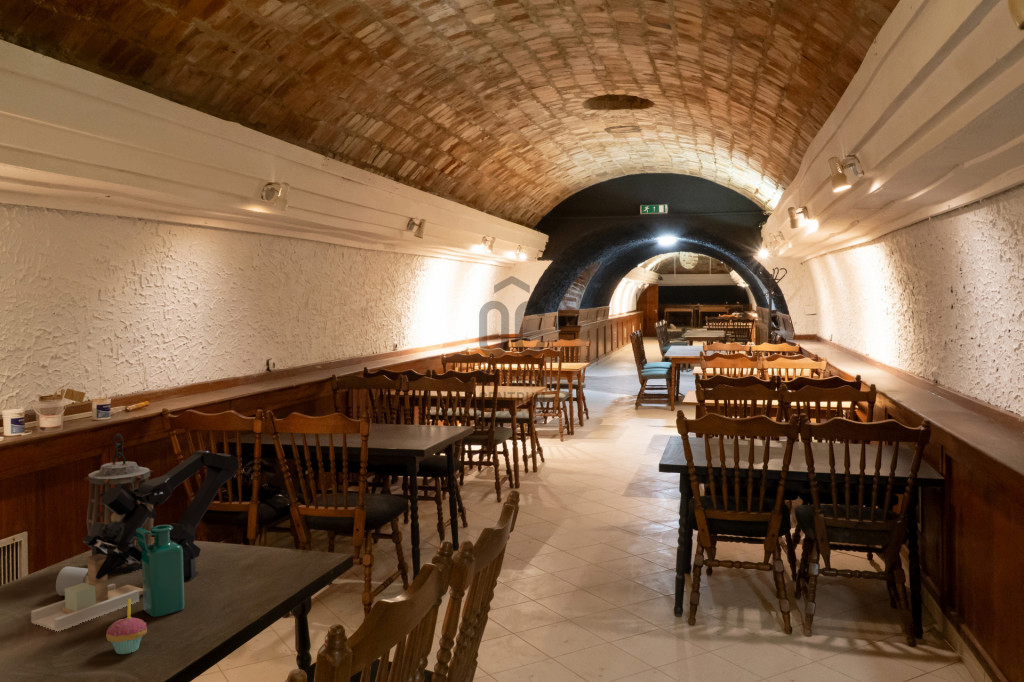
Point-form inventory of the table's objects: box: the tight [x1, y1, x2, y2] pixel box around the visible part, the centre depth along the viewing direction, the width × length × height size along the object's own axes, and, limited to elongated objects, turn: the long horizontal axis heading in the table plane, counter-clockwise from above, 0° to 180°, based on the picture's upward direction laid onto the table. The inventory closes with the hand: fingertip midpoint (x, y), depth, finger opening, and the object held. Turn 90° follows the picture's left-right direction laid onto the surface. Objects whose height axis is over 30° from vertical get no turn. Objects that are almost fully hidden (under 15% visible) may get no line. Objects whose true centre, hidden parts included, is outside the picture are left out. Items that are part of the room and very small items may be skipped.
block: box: [64, 583, 96, 611], centre depth 205 cm, size 5×5×5 cm
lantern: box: [82, 433, 156, 576], centre depth 242 cm, size 19×19×40 cm
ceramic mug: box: [55, 566, 88, 597], centre depth 220 cm, size 11×8×8 cm
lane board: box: [30, 583, 140, 633], centre depth 207 cm, size 22×11×3 cm, turn 150°
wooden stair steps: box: [62, 554, 143, 614], centre depth 211 cm, size 18×8×13 cm, turn 150°
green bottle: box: [136, 524, 185, 618], centre depth 207 cm, size 10×8×22 cm
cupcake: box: [105, 595, 148, 655], centre depth 185 cm, size 9×8×12 cm
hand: (92, 577), depth 208 cm, fingers closed on wooden stair steps, 3 cm apart
